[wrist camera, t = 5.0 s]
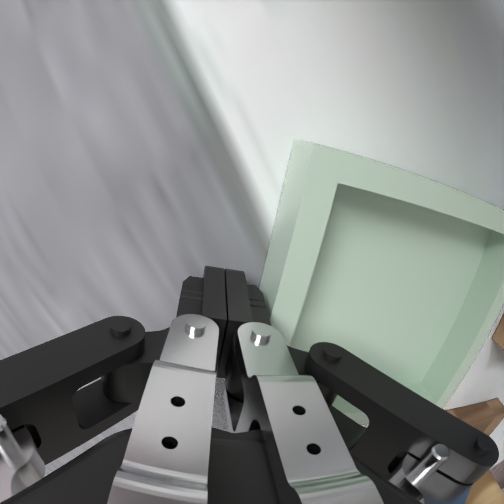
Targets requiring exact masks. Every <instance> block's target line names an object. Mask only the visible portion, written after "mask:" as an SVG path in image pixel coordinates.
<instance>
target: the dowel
mask: <svg viewBox="0 0 504 504" xmlns="http://www.w3.org/2000/svg"><path fill="white" fill-rule="evenodd" d="M465 504H504V494H503V492H502V491H501V489H500V487H499V485H498V484H497V482H496V480H495V479H494V477H493V475H492V474H491V472H490V470H488V471H487V472H486V473H485V474H484V475H483V476H482V477H481V478H480V479H479V480H478V481H477V482H476V483H474V484H473V485H472V487H471V489H470V492H469V494H468V497H467V499H466V502H465Z"/></svg>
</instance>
